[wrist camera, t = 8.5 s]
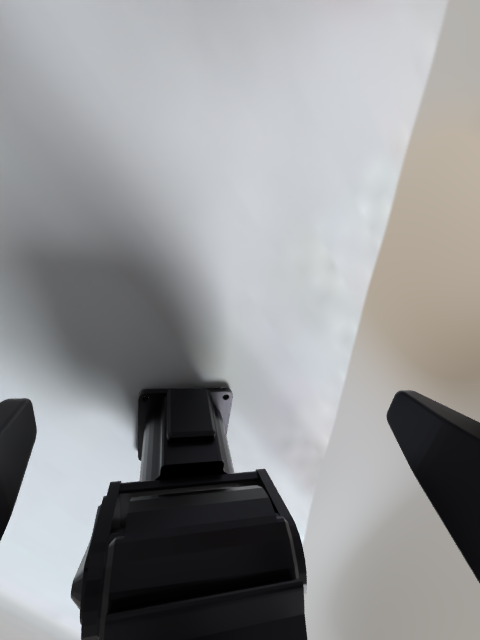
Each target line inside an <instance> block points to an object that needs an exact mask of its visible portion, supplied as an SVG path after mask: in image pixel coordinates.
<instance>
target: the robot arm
mask: <svg viewBox="0 0 480 640" xmlns="http://www.w3.org/2000/svg"><path fill="white" fill-rule="evenodd" d="M226 394H227V396H224V395H226ZM144 396H148V397H149V398H144ZM232 398H233V395H232V391H231V390H230V389H228V388H202V389H146V390H143V391H141V392H140V393H139V399H138V458H139V460H140V461H141V470H140V481H139V482H127V483H121V481H117V482H110V486H109V489H108V493H107V496H104V497H103V501H102V504H101V505H100V506H99V507H98V510H97V514H96V519H95V524H94V529H93V533H92V537H91V540H90V543H89V545H88V548H87V550H86V552H85V555H84V557H83V559H82V561H81V564H80V566H79V568H78V571H77V573H76V575H75V578H74V580H73V584H72V589H71V598H72V600H73V601H74V602H75V604H76V605H77V606H78V608H79V609H80V623H81V625H82V628H81V640H307V633H306V625H305V614H304V599H305V595H306V586H307V578H306V577H307V576H306V565H305V558H304V552H303V547H302V543H301V539H300V535H299V533H298V530H297V527H296V524H295V522H294V520H293V518H292V516H291V514H290V513H289V511H288V509H287V507H286V505H285V504H284V502H283V500H282V498H281V496H280V495H279V493H278V491H277V489H276V488H275V486H274V484H273V482H272V480H271V479H270V477H269V475H268V473H267V471H266V470H265V469H257V470H256V471H253V472H242V473H234V470H233V465H232V460H231V456H230V451H229V446H228V442H227V437H226V434H227V428H228V422H229V416H230V410H231V404H232ZM387 421H388V423H389V425H390V428H391V430H392V431H393V433H394V436H395V438H396V439H397V442H398V444H399V446H400V448H401V450H402V452H403V454H404V456H405V457H406V460H407V461H408V464H409V466H410V468H411V469H412V471H413V473H414V475H415V477H416V479H417V480H418V482H419V484H420V485H421V487H422V489H423V490H424V492H425V494H426V495H427V497H428V499H429V500H430V502H431V504H432V505H433V507H434V509H435V510H436V512H437V514H438V515H439V517H440V518H441V520H442V522H443V524H444V525H445V527H446V528H447V530H448V532H449V533H450V535H451V537H452V538H453V540H454V542H455V543H456V545H457V546H458V548H459V550H460V551H461V553H462V555H463V557H464V558H465V560H466V562H467V563H468V565H469V567H470V568H471V570H472V572H473V573H474V574H475V577H476V578H477V580H478V581H479V583H480V423H479V422H477V421H475V420H473V419H471V418H469V417H467V416H465V415H463V414H461V413H459V412H456V411H454V410H452V409H450V408H448V407H446V406H444V405H442V404H440V403H438V402H436V401H434V400H432V399H430V398H427V397H425V396H423V395H421V394H419V393H417V392H415V391H410V390H406V391H399V392H397V393H396V394H395V396H394V398H393V401H392V403H391V405H390V408H389V410H388V412H387ZM36 433H37V428H36V422H35V416H34V411H33V405H32V402H31V401H30V400H29V399H26V398H22V399H6V400H4V401H2V402H1V403H0V541H1V538H2V536H3V534H4V531H5V529H6V527H7V524H8V522H9V519H10V517H11V514H12V511H13V508H14V506H15V503H16V499H17V496H18V493H19V490H20V487H21V484H22V481H23V477H24V474H25V471H26V468H27V465H28V462H29V458H30V455H31V452H32V449H33V446H34V443H35V439H36Z"/></svg>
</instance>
